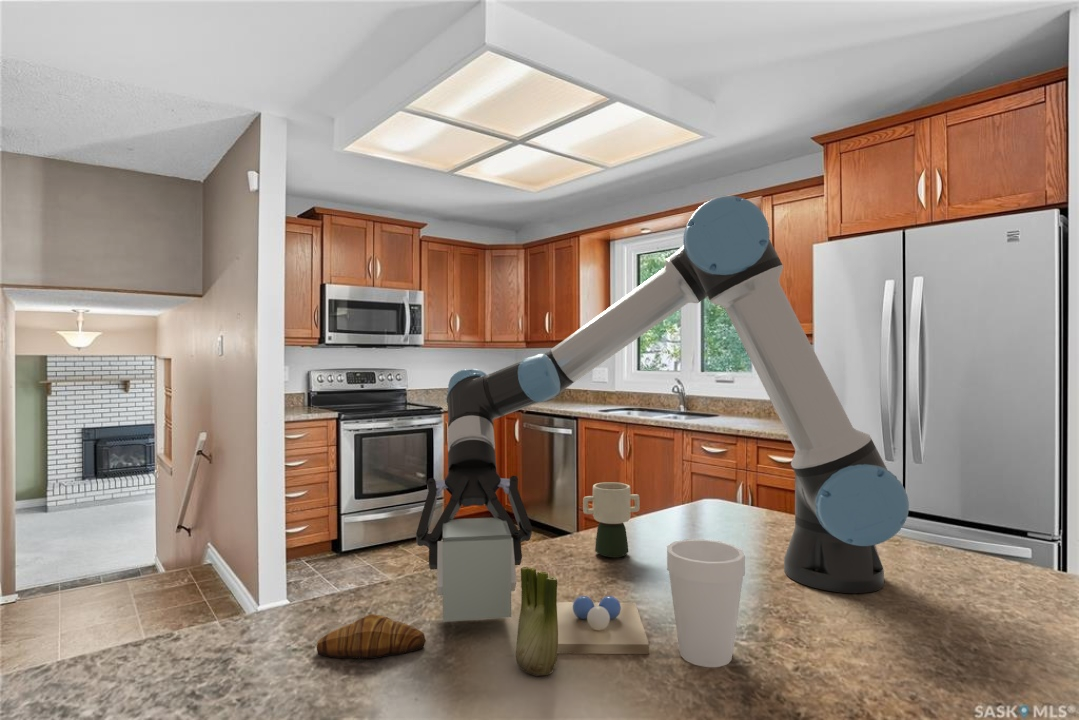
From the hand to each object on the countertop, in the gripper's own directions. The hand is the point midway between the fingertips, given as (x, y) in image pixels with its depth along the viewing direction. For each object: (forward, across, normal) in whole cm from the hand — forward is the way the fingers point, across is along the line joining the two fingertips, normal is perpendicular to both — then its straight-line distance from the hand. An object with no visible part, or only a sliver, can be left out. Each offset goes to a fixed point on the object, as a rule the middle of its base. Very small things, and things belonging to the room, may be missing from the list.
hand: (476, 588), depth 82 cm
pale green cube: (0, 0, -5) cm, 5 cm away
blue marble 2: (+4, -18, -3) cm, 19 cm away
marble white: (+6, -16, -1) cm, 17 cm away
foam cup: (+11, -28, +2) cm, 30 cm away
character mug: (-16, -27, -25) cm, 40 cm away
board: (+5, -14, -4) cm, 16 cm away
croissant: (+6, +14, -3) cm, 15 cm away
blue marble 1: (+3, -15, -4) cm, 15 cm away
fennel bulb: (+12, -6, +3) cm, 14 cm away
